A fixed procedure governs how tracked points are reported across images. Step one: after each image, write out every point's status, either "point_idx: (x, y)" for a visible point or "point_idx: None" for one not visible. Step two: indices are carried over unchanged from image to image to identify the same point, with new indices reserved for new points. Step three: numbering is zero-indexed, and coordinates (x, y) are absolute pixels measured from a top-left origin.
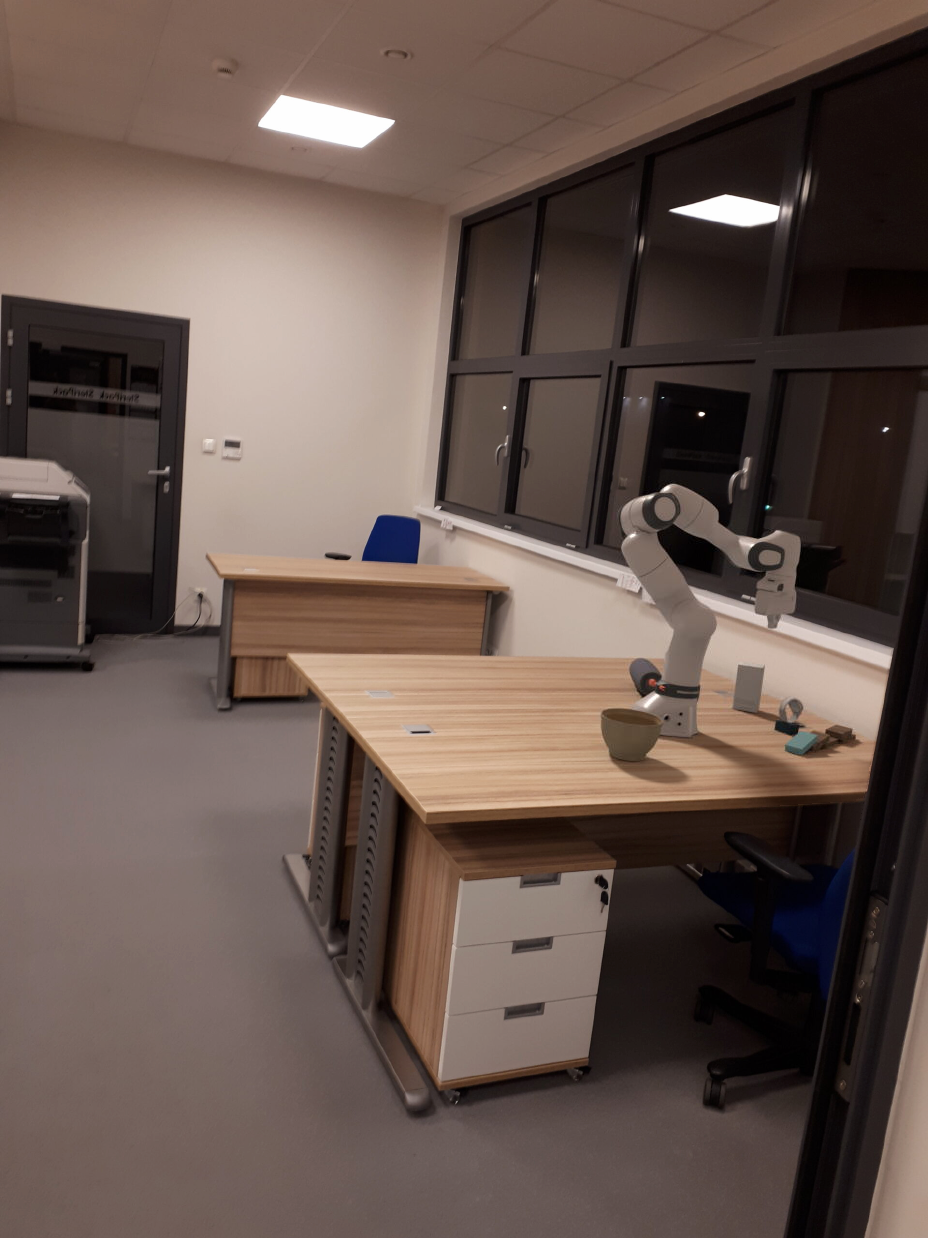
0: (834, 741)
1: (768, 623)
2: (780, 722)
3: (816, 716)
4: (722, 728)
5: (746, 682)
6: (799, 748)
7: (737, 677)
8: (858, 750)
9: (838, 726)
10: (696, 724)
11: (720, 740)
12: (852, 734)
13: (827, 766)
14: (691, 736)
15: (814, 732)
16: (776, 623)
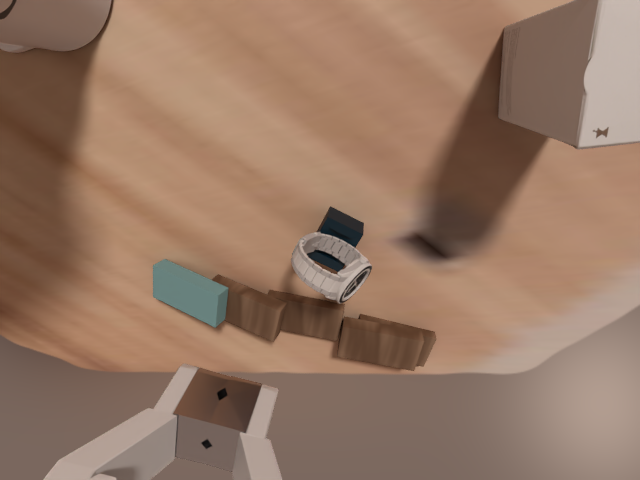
0: (316, 335)
1: (159, 401)
2: (320, 229)
3: (618, 269)
4: (200, 89)
5: (541, 67)
6: (153, 292)
7: (558, 12)
8: (323, 367)
9: (406, 346)
10: (50, 41)
11: (83, 124)
12: (419, 360)
13: (146, 332)
14: (18, 52)
15: (269, 313)
16: (224, 466)
